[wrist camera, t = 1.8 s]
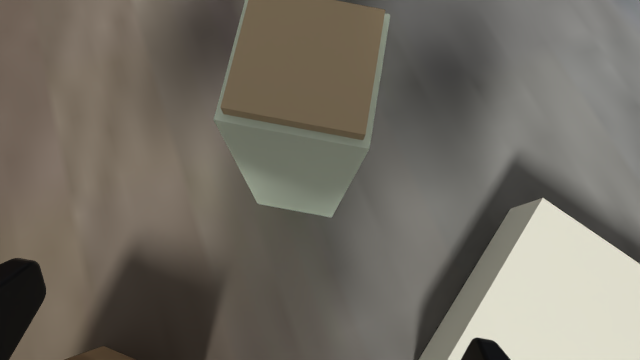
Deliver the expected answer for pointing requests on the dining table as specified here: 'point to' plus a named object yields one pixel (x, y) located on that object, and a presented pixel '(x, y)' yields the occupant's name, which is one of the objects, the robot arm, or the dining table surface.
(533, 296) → the slab
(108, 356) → the walnut cube
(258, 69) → the tea tin
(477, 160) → the dining table surface
